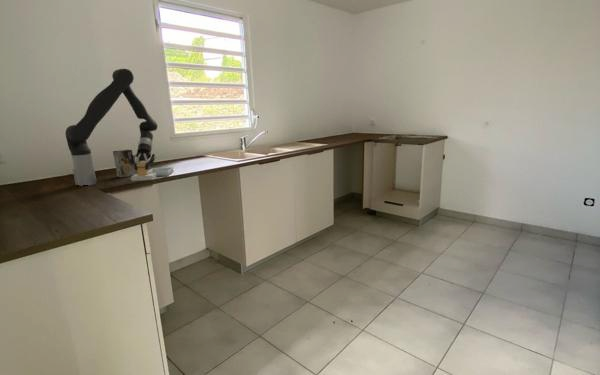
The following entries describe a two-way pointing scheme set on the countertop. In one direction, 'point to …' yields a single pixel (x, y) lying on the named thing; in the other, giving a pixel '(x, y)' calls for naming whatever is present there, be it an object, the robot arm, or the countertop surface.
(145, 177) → the fuse holder
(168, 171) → the tray
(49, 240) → the countertop surface
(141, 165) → the fuse
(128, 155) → the coffee box
